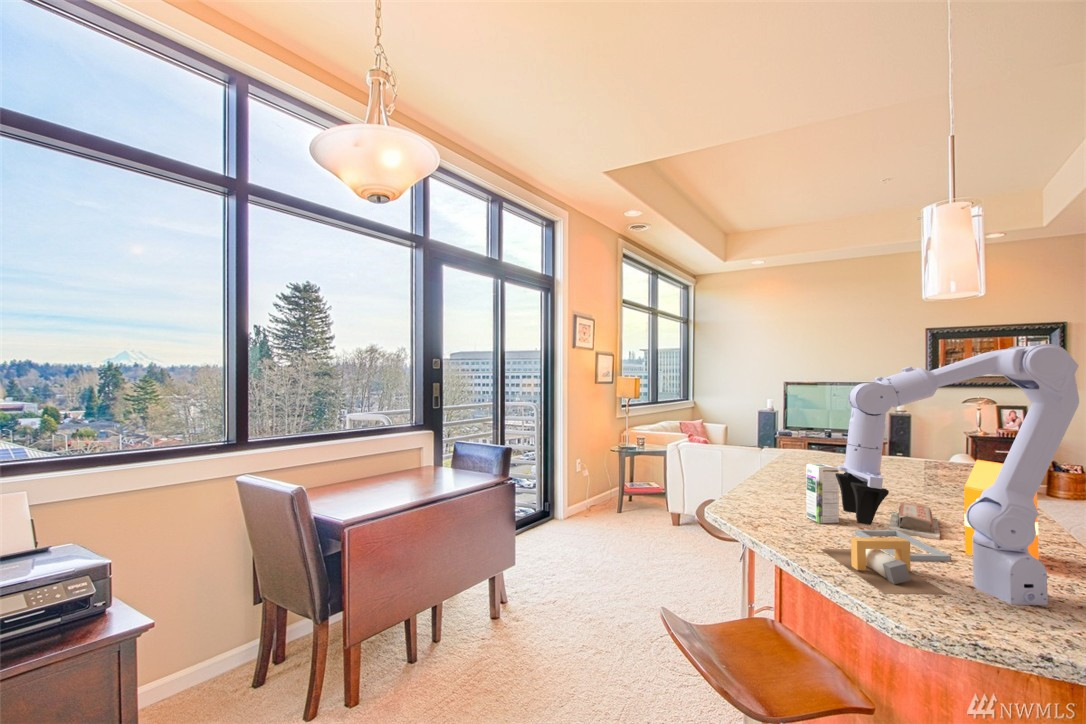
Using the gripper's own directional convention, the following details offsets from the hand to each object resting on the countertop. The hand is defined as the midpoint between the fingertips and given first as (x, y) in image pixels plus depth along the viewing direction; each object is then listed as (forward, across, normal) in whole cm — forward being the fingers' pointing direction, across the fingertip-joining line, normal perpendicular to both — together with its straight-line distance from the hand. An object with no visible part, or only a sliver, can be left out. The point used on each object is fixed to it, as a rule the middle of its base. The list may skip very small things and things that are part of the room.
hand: (856, 517), depth 96 cm
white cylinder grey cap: (+10, -3, +6) cm, 12 cm away
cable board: (+11, -4, +6) cm, 13 cm away
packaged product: (+10, -40, +26) cm, 48 cm away
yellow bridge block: (+10, -3, +6) cm, 12 cm away
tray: (+10, -19, +15) cm, 26 cm away
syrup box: (+12, -40, +6) cm, 42 cm away
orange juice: (+8, -19, +34) cm, 39 cm away
